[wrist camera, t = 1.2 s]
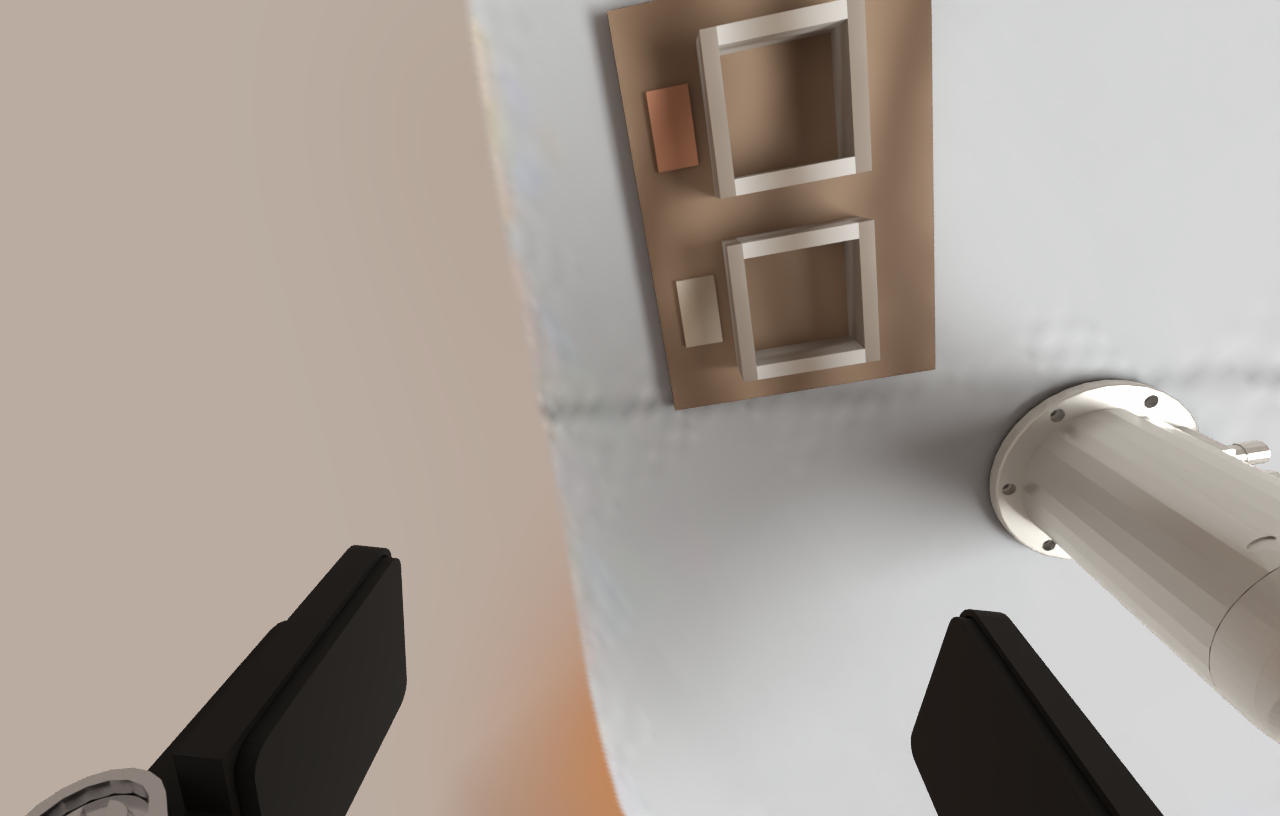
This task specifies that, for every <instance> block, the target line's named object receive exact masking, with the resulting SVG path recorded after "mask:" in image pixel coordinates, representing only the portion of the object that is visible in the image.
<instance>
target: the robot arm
mask: <svg viewBox="0 0 1280 816" xmlns="http://www.w3.org/2000/svg"><path fill="white" fill-rule="evenodd" d="M1270 457H1271V455H1270V450H1269V448H1268V446H1267V445H1266V444H1265V443H1263V442H1262V441H1250V442H1243V443H1236V444H1233V445H1229V446H1226V445H1224V444H1222V443H1219V442H1217V441H1215V440H1213V439H1211V438H1209V437H1207V436H1205V435H1203V434H1201V433H1199V431H1198V427H1197V425H1196V423H1195V421H1194V419H1193V418H1192V416H1191V414H1190V412H1189V411H1188V410H1187V409H1186V408H1185V407H1184V406H1183V405H1182V404H1181V403H1180V402H1179V401H1178V400H1177V399H1175V398H1173V397H1171V396H1170V395H1168V394H1166V393H1165V392H1163V391H1161V390H1158V389H1156V388H1153V387H1151V386H1149V385H1146V384H1143V383H1138V382H1134V381H1129V380H1100V381H1094V382H1087V383H1084V384H1080V385H1077V386H1074V387H1071V388H1068V389H1065V390H1063V391H1061V392H1059V393H1057V394H1055V395H1053V396H1051V397H1049V398H1047V399H1046V400H1044V401H1043V402H1042V403H1040V404H1039V405H1037V406H1036V407H1034V408H1033V409H1032V410H1030V411H1029V412H1028V413H1027V414H1026V415H1025V416H1024V417H1023V418H1022V419H1021V420H1020V421H1019V422H1018V423H1017V424H1015V426H1014V427H1013V428H1012V430H1011V431H1010V432H1009V434H1008V435H1007V436H1006V438H1005V439H1004V441H1003V442H1002V444H1001V446H1000V448H999V450H998V452H997V454H996V456H995V459H994V463H993V466H992V469H991V474H990V486H989V490H990V496H991V503H992V506H993V508H994V511H995V513H996V516H997V518H998V519H999V520H1000V522H1001V523H1002V524H1003V526H1004V527H1005V528H1006V530H1007V531H1008V532H1010V533H1011V534H1012V535H1013V536H1014V537H1015V538H1016V539H1017V540H1018V541H1019V542H1021V543H1022V544H1024V545H1025V546H1027V547H1028V548H1030V549H1031V550H1034V551H1036V552H1038V553H1041V554H1044V555H1047V556H1052V557H1058V558H1066V559H1073V560H1075V561H1076V562H1077V563H1078V564H1079V565H1080V566H1081V567H1082V568H1083V569H1084V570H1085V571H1086V572H1088V573H1089V574H1090V575H1091V576H1092V577H1093V578H1094V579H1095V580H1096V581H1097V582H1098V583H1099V584H1101V585H1102V586H1103V587H1104V588H1105V589H1106V590H1107V591H1108V592H1109V593H1110V594H1111V595H1112V596H1113V597H1115V598H1116V599H1117V600H1118V601H1119V602H1120V603H1121V604H1122V605H1123V606H1124V607H1125V608H1126V609H1128V610H1129V611H1130V612H1131V613H1132V614H1133V615H1134V616H1135V617H1136V618H1137V619H1138V620H1139V621H1141V622H1142V623H1143V624H1144V625H1145V626H1146V627H1147V628H1148V629H1149V630H1150V631H1151V632H1152V633H1154V634H1155V635H1156V636H1157V637H1158V638H1159V639H1160V640H1161V641H1162V642H1163V643H1164V644H1165V645H1167V646H1168V647H1169V648H1170V649H1171V650H1172V651H1173V652H1174V653H1175V654H1176V655H1177V656H1178V657H1180V658H1181V659H1182V660H1183V661H1184V662H1185V663H1186V664H1187V665H1188V666H1189V667H1190V668H1191V669H1193V670H1194V671H1195V672H1196V673H1197V674H1198V675H1199V676H1200V677H1201V678H1202V679H1203V680H1204V681H1205V682H1207V683H1208V684H1209V685H1210V686H1211V687H1212V688H1213V689H1214V690H1215V691H1216V692H1217V693H1218V694H1220V695H1221V696H1222V697H1223V698H1224V699H1225V700H1227V701H1228V702H1229V703H1230V704H1231V705H1232V706H1233V707H1234V708H1235V709H1236V710H1238V711H1239V712H1240V713H1241V714H1242V715H1243V716H1244V717H1245V718H1246V719H1247V720H1249V721H1250V722H1251V723H1252V724H1253V725H1254V726H1256V727H1257V728H1258V729H1259V730H1261V731H1262V732H1263V733H1264V734H1266V735H1267V736H1269V737H1270V738H1272V739H1273V740H1275V741H1276V742H1278V743H1279V744H1280V474H1279V473H1278V472H1275V471H1271V470H1266V471H1263V470H1261V469H1259V468H1257V467H1255V466H1253V465H1254V464H1261V463H1265V462H1268V461H1269V459H1270ZM406 684H407V675H406V656H405V636H404V617H403V598H402V578H401V564H400V560H399V559H397V558H392V557H391V553H390V551H389V550H388V549H387V548H379V547H368V546H359V545H354V546H351V547H350V548H349V549H348V550H347V551H346V552H345V553H344V555H342V557H341V558H340V559H339V560H338V561H337V562H336V564H335V565H334V566H333V567H332V568H331V569H330V571H329V572H328V573H327V574H326V575H325V576H324V578H323V579H322V580H321V581H320V582H319V583H318V585H317V586H316V587H315V588H314V590H313V591H312V592H311V593H310V594H309V595H308V596H307V597H306V599H305V600H304V601H303V602H302V603H301V604H300V606H299V607H298V608H297V609H296V610H295V611H294V613H293V614H292V615H291V616H290V617H289V618H288V620H287V621H283V622H280V623H278V624H277V625H276V626H275V627H273V628H272V629H271V630H270V631H269V632H268V633H267V635H266V636H265V637H264V638H263V639H262V640H261V641H260V643H259V644H258V645H257V646H256V647H255V648H254V649H253V651H252V652H251V653H250V654H249V655H248V656H247V658H246V659H245V660H244V661H243V662H242V663H241V665H239V667H238V668H237V669H236V670H235V671H234V673H232V675H231V676H230V677H229V678H228V679H227V680H226V682H225V683H224V684H223V685H222V686H221V687H220V688H219V690H218V691H217V692H216V693H215V694H214V695H213V696H212V697H211V699H210V700H209V701H208V702H207V703H206V705H204V707H203V708H202V709H201V710H200V711H199V712H198V714H197V715H196V716H195V717H194V718H193V719H192V720H191V721H190V723H189V724H188V725H187V726H186V727H185V728H184V729H183V731H182V732H181V733H180V734H179V735H178V737H176V739H175V740H174V741H173V742H172V743H171V744H170V746H169V747H168V748H167V749H166V750H165V751H164V752H163V754H162V755H161V756H160V757H159V758H158V759H157V760H156V762H155V763H154V764H153V765H152V766H151V767H150V768H149V770H148V771H146V770H141V769H136V768H127V769H115V770H109V771H106V772H102V773H99V774H96V775H92V776H89V777H86V778H84V779H82V780H80V781H77V782H76V783H73V784H71V785H69V786H67V787H65V788H63V789H61V790H59V791H58V792H56V793H55V794H54V795H52V796H50V797H49V798H48V799H46V800H44V801H43V802H41V803H40V804H38V805H37V806H36V807H35V808H34V809H32V810H31V811H30V812H29V813H28V814H27V815H26V816H345V815H346V813H347V811H348V809H349V807H350V805H351V803H352V801H353V799H354V797H355V795H356V793H357V791H358V789H359V787H360V785H361V783H362V781H363V779H364V777H365V775H366V773H367V771H368V769H369V767H370V766H371V763H372V761H373V760H374V757H375V756H376V753H377V752H378V750H379V748H380V745H381V744H382V741H383V739H384V738H385V736H386V734H387V732H388V730H389V728H390V726H391V724H392V721H393V719H394V718H395V716H396V714H397V712H398V710H399V708H400V706H401V703H402V701H403V698H404V695H405V691H406ZM911 749H912V754H913V757H914V760H915V763H916V765H917V767H918V770H919V772H920V774H921V777H922V779H923V781H924V784H925V786H926V788H927V791H928V793H929V795H930V798H931V800H932V802H933V805H934V807H935V809H936V812H937V814H938V816H1163V814H1162V813H1161V812H1160V811H1159V809H1158V808H1157V807H1156V805H1155V804H1154V803H1153V802H1152V800H1151V799H1150V798H1149V796H1148V795H1147V794H1146V793H1145V791H1144V790H1143V789H1142V787H1141V786H1140V785H1139V784H1138V782H1137V781H1136V780H1135V779H1134V777H1133V776H1132V775H1131V773H1130V772H1129V771H1128V770H1127V768H1126V767H1125V766H1124V764H1123V763H1122V762H1121V761H1120V759H1119V758H1118V757H1117V755H1116V754H1115V753H1114V752H1113V750H1112V749H1111V748H1110V747H1109V745H1108V744H1107V743H1106V741H1105V740H1104V739H1103V738H1102V736H1101V735H1100V734H1099V732H1098V731H1097V730H1096V729H1095V727H1094V726H1093V725H1092V723H1091V722H1090V721H1089V720H1088V718H1087V717H1086V716H1085V715H1084V713H1083V712H1082V711H1081V709H1080V708H1079V707H1078V706H1077V704H1076V703H1075V702H1074V700H1073V699H1072V698H1071V697H1070V695H1069V694H1068V693H1067V691H1066V690H1065V689H1064V688H1063V686H1062V685H1061V684H1060V683H1059V681H1058V680H1057V679H1056V677H1055V676H1054V675H1053V674H1052V672H1051V671H1050V670H1049V668H1048V667H1047V666H1046V665H1045V663H1044V662H1043V661H1042V659H1041V658H1040V657H1039V656H1038V654H1037V653H1036V652H1035V651H1034V649H1033V648H1032V647H1031V645H1030V644H1029V643H1028V642H1027V640H1026V639H1025V638H1024V636H1023V635H1022V634H1021V633H1020V631H1019V630H1018V629H1017V627H1016V626H1015V625H1014V624H1013V622H1012V621H1011V620H1010V619H1009V618H1008V617H1007V616H1006V615H1005V614H1003V613H1000V612H991V611H981V610H972V609H967V610H964V611H963V612H962V613H961V615H960V617H954V618H953V619H951V621H950V623H949V626H948V629H947V632H946V635H945V637H944V640H943V643H942V646H941V649H940V652H939V655H938V658H937V661H936V664H935V667H934V670H933V673H932V676H931V679H930V681H929V684H928V687H927V690H926V693H925V696H924V699H923V702H922V705H921V708H920V711H919V714H918V717H917V720H916V723H915V725H914V728H913V731H912V735H911Z"/></svg>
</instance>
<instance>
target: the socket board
mask: <svg viewBox="0 0 1280 816" xmlns="http://www.w3.org/2000/svg"><path fill="white" fill-rule="evenodd" d="M607 14H608V20H609V26H610V31H611V37H612V43H613V49H614V55H615V61H616V66H617V72H618V78H619V84H620V90H621V96H622V101H623V107H624V113H625V119H626V125H627V131H628V136H629V142H630V148H631V154H632V160H633V166H634V171H635V177H636V183H637V189H638V195H639V201H640V206H641V212H642V218H643V224H644V230H645V236H646V241H647V247H648V253H649V259H650V265H651V271H652V276H653V282H654V288H655V294H656V300H657V306H658V311H659V317H660V323H661V329H662V335H663V341H664V346H665V352H666V358H667V364H668V370H669V376H670V381H671V387H672V393H673V399H674V405H675V410H681V409H687V408H693V407H700V406H706V405H712V404H719V403H725V402H731V401H737V400H744V399H750V398H756V397H763V396H769V395H775V394H782V393H788V392H794V391H801V390H807V389H813V388H820V387H826V386H832V385H839V384H845V383H851V382H857V381H864V380H870V379H876V378H883V377H889V376H895V375H902V374H908V373H914V372H921V371H927V370H933V369H935V292H934V200H933V108H932V15H931V0H656V1H651V2H647V3H642V4H637V5H633V6H628V7H624V8H619V9H615V10H610V11H607Z"/></svg>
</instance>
